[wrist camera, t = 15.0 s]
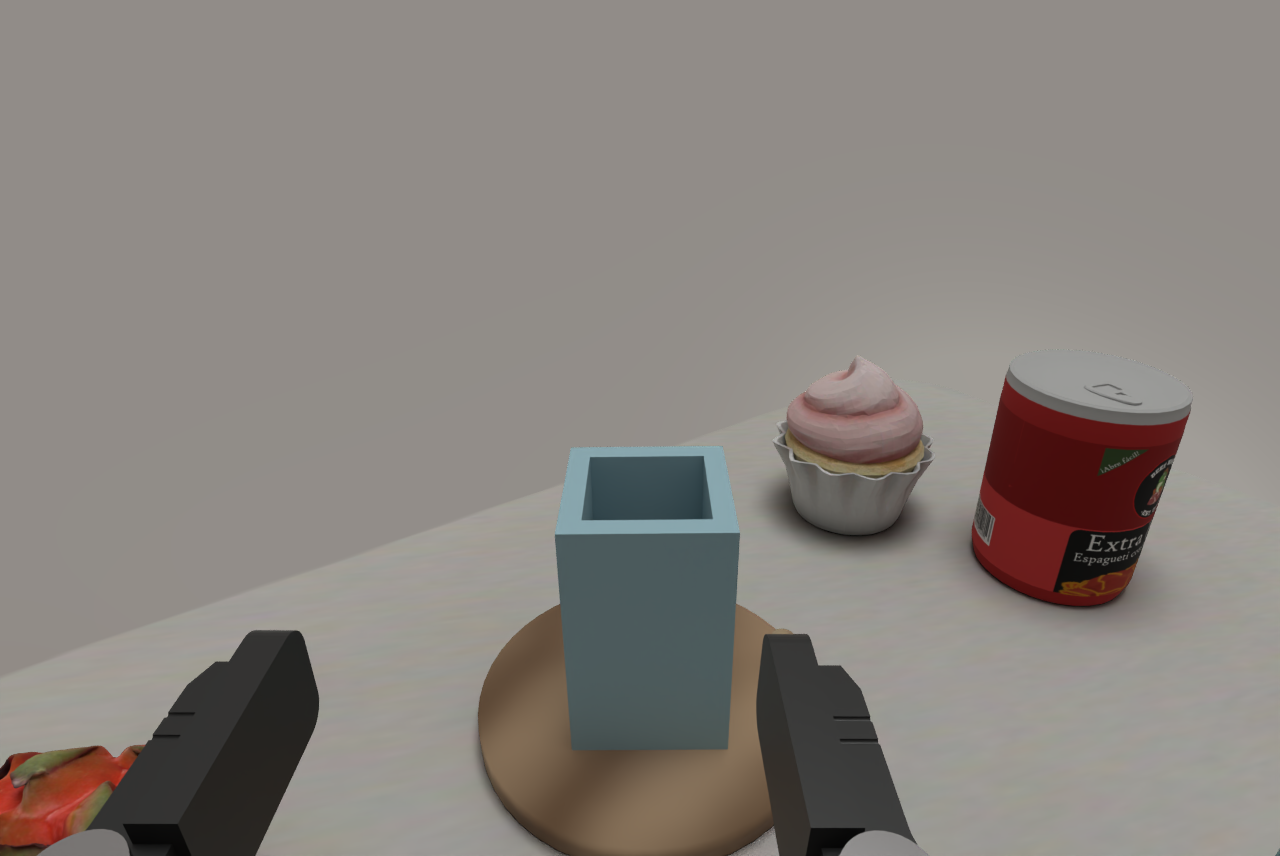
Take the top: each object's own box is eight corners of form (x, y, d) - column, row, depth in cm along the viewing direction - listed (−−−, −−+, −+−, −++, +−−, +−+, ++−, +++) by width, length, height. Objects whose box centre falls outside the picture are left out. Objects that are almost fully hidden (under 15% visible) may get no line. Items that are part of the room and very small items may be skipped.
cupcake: (795, 458, 51) (807, 320, 47) (936, 492, 47) (964, 343, 43) (743, 525, 44) (752, 369, 40) (904, 572, 40) (934, 403, 36)
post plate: (411, 799, 28) (376, 646, 25) (568, 579, 40) (560, 455, 36) (779, 931, 24) (799, 767, 20) (835, 640, 35) (853, 505, 32)
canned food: (1078, 631, 36) (1144, 427, 31) (937, 550, 42) (974, 368, 37) (1157, 575, 39) (1228, 385, 35) (1018, 508, 45) (1061, 338, 41)
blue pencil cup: (571, 750, 29) (554, 534, 24) (583, 640, 34) (571, 447, 29) (727, 749, 28) (739, 532, 24) (714, 639, 34) (722, 445, 29)
